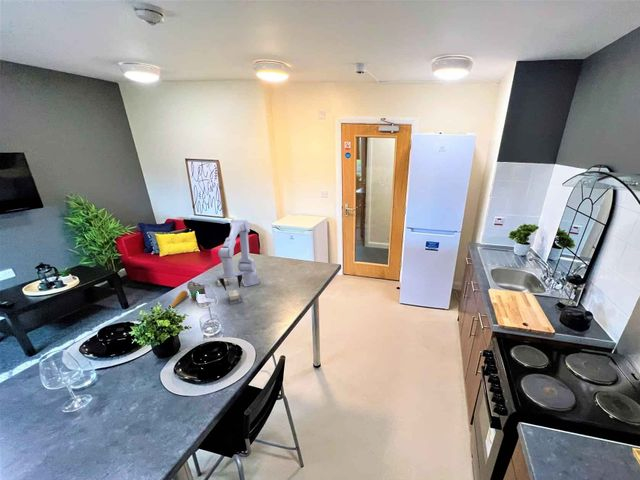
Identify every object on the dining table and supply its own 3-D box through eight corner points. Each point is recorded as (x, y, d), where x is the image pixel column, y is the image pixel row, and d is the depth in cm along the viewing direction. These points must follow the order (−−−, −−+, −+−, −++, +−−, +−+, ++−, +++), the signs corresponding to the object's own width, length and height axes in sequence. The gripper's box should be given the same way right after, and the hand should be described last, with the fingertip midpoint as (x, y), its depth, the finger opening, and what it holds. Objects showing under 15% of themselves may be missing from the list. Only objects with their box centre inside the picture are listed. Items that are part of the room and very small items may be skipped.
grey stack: (238, 295, 180) (238, 292, 179) (241, 302, 174) (240, 298, 173) (228, 298, 178) (228, 294, 177) (230, 304, 171) (230, 300, 170)
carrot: (184, 296, 180) (179, 290, 178) (190, 293, 179) (185, 288, 177) (166, 316, 163) (161, 310, 160) (173, 313, 162) (167, 307, 160)
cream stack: (226, 279, 201) (225, 276, 200) (227, 284, 194) (227, 280, 193) (217, 281, 199) (216, 277, 197) (218, 286, 192) (217, 282, 191)
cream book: (237, 292, 179) (237, 289, 178) (239, 298, 173) (239, 295, 172) (228, 294, 177) (228, 291, 176) (230, 300, 170) (230, 296, 169)
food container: (185, 298, 176) (181, 284, 172) (195, 294, 181) (191, 280, 177) (198, 303, 171) (194, 288, 166) (207, 299, 176) (204, 284, 171)
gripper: (215, 272, 160) (220, 293, 166) (243, 267, 167) (246, 288, 173) (214, 267, 166) (218, 288, 171) (241, 263, 173) (244, 283, 178)
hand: (232, 288), depth 172 cm, fingers open, 7 cm apart
